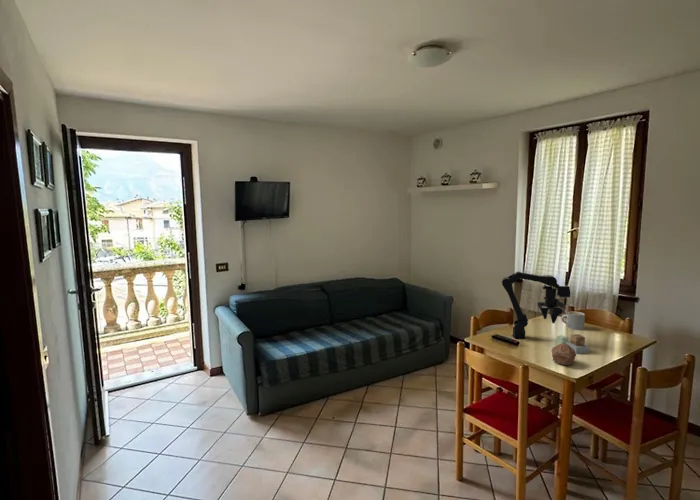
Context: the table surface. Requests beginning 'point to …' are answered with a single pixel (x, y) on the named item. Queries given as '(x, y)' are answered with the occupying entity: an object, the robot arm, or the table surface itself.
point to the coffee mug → (574, 320)
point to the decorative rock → (563, 354)
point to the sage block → (562, 339)
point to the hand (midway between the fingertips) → (549, 321)
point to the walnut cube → (578, 340)
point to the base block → (579, 348)
